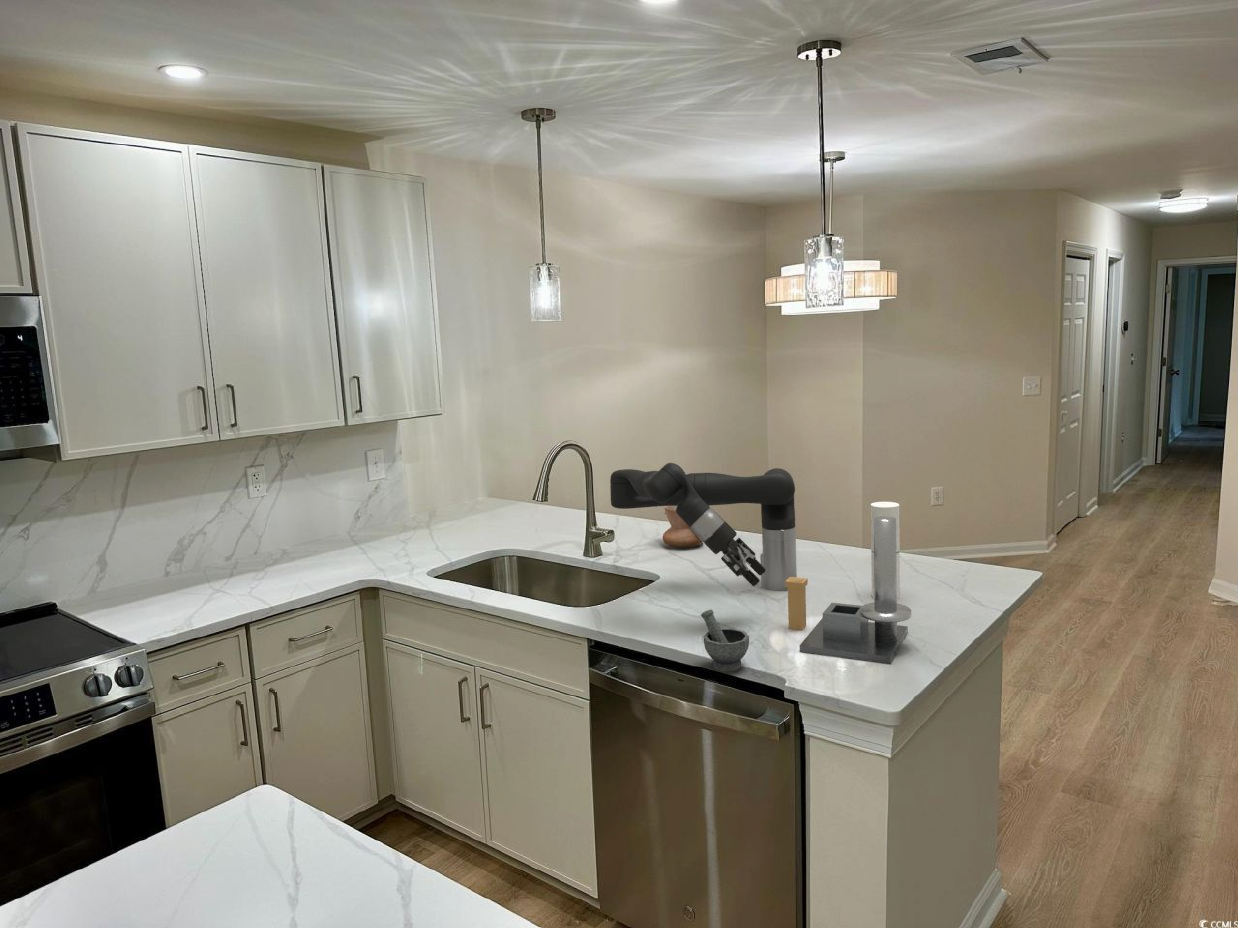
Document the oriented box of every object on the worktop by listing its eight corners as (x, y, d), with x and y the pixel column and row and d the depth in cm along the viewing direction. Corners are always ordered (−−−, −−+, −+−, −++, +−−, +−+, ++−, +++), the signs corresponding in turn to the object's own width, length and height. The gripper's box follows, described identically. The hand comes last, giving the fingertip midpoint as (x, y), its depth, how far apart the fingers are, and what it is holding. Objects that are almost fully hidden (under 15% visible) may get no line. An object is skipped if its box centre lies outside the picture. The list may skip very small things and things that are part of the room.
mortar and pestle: (758, 664, 188) (756, 611, 186) (733, 678, 181) (731, 624, 179) (716, 652, 196) (714, 602, 194) (691, 666, 189) (689, 614, 187)
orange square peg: (786, 628, 208) (785, 581, 206) (791, 623, 212) (789, 576, 210) (804, 630, 206) (803, 582, 204) (808, 625, 209) (807, 578, 208)
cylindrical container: (881, 602, 223) (880, 508, 219) (866, 594, 230) (865, 503, 226) (905, 598, 225) (904, 505, 221) (889, 590, 232) (889, 500, 228)
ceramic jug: (651, 545, 294) (649, 505, 291) (683, 537, 302) (681, 498, 300) (687, 554, 280) (685, 512, 277) (719, 546, 288) (717, 504, 286)
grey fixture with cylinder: (799, 651, 194) (796, 524, 189) (823, 622, 211) (820, 505, 206) (902, 665, 183) (902, 531, 178) (918, 633, 200) (918, 510, 195)
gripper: (709, 533, 218) (755, 579, 217) (695, 548, 205) (743, 597, 203) (729, 513, 216) (775, 560, 214) (716, 527, 203) (765, 577, 201)
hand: (760, 578), depth 209 cm, fingers open, 8 cm apart
